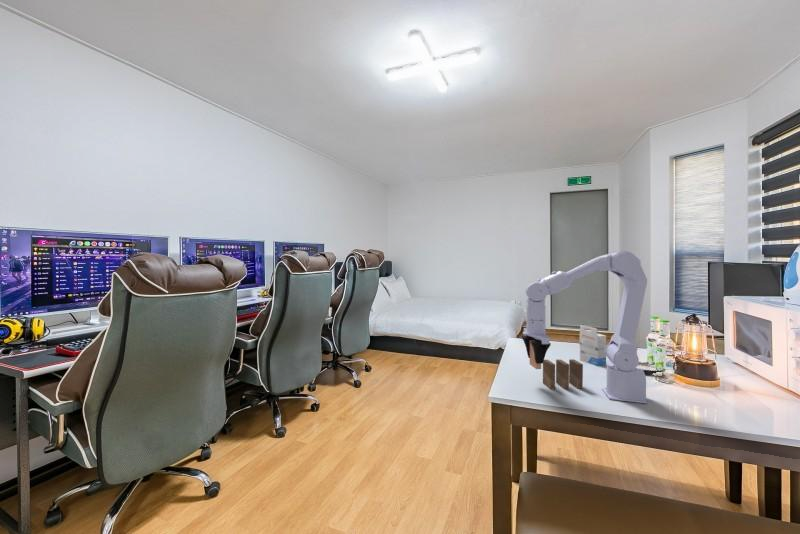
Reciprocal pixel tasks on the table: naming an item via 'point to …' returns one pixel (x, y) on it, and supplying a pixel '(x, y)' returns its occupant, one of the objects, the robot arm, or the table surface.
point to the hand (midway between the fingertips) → (535, 360)
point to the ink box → (592, 346)
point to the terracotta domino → (533, 358)
